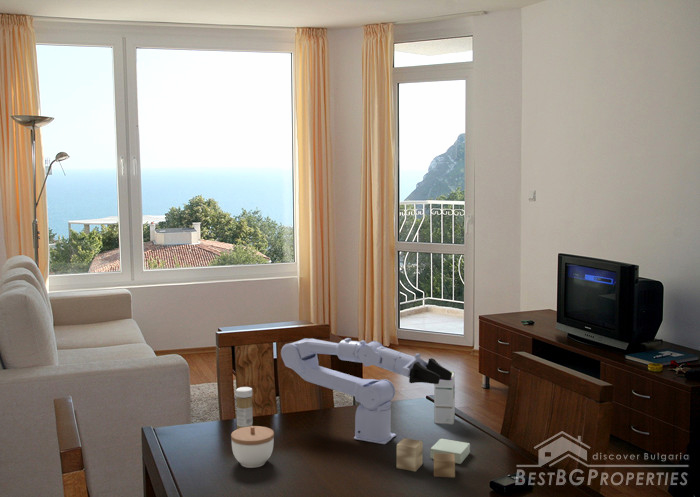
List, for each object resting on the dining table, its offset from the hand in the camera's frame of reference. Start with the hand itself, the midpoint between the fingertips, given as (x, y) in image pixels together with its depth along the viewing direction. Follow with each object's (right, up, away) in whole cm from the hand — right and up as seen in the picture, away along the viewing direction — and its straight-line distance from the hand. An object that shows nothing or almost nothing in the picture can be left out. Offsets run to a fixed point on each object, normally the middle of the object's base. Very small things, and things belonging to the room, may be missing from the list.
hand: (445, 378), depth 179 cm
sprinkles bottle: (-54, -19, +14) cm, 59 cm away
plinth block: (+1, -20, 0) cm, 21 cm away
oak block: (-2, -21, -11) cm, 24 cm away
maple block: (-10, -21, -7) cm, 24 cm away
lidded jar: (-49, -21, -5) cm, 54 cm away
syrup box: (+3, -18, +27) cm, 33 cm away
